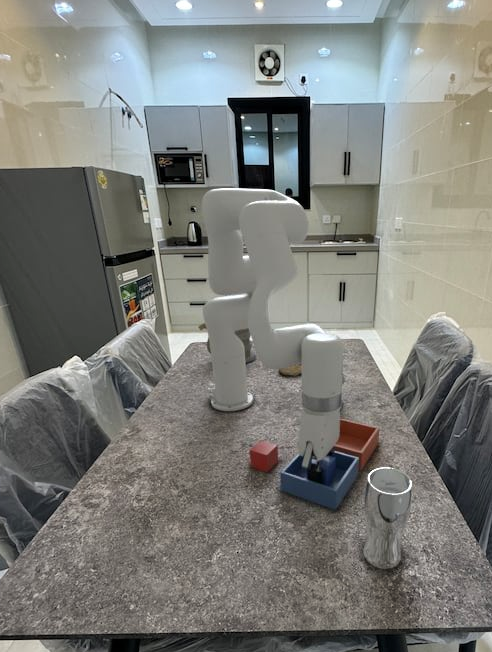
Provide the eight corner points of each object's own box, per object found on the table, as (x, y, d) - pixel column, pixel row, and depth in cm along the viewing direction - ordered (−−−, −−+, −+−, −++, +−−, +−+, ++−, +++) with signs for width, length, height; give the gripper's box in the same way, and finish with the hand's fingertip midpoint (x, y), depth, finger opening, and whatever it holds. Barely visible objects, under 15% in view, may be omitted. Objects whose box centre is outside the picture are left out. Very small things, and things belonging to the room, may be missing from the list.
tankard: (254, 353, 157) (252, 317, 151) (253, 363, 146) (250, 325, 140) (205, 354, 156) (201, 318, 150) (200, 365, 145) (195, 327, 139)
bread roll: (290, 362, 146) (291, 350, 144) (314, 371, 141) (315, 359, 138) (271, 372, 138) (272, 359, 136) (296, 383, 133) (297, 370, 130)
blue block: (306, 481, 79) (306, 462, 77) (316, 469, 83) (316, 451, 81) (326, 487, 77) (326, 469, 75) (335, 475, 81) (335, 457, 79)
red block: (250, 466, 86) (249, 449, 84) (261, 456, 90) (260, 440, 88) (267, 472, 84) (266, 455, 82) (278, 461, 88) (277, 445, 86)
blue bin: (280, 490, 78) (280, 472, 77) (307, 459, 88) (307, 443, 86) (335, 510, 73) (336, 491, 71) (358, 475, 83) (359, 457, 81)
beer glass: (356, 539, 66) (361, 467, 60) (395, 536, 67) (404, 465, 61) (366, 573, 60) (373, 497, 54) (410, 570, 61) (421, 494, 54)
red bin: (311, 455, 90) (311, 439, 88) (332, 431, 99) (333, 416, 98) (361, 470, 84) (362, 453, 82) (378, 443, 94) (379, 427, 92)
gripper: (322, 380, 81) (321, 452, 88) (281, 413, 68) (284, 496, 75) (356, 386, 78) (352, 461, 85) (320, 423, 64) (319, 508, 72)
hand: (320, 476), depth 80 cm, fingers closed on blue block, 4 cm apart
